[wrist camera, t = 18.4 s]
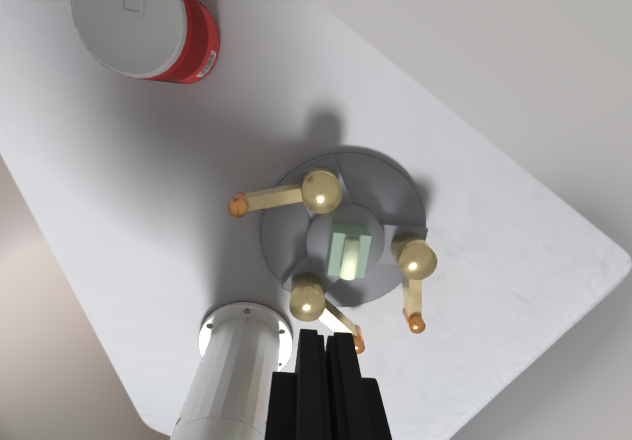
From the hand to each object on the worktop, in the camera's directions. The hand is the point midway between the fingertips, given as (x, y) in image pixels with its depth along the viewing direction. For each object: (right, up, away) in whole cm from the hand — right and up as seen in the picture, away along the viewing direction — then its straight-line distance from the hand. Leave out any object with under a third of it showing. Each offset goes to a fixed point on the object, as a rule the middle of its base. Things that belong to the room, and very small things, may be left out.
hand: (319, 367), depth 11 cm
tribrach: (+3, +3, +30) cm, 30 cm away
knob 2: (+1, -6, +31) cm, 31 cm away
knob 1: (-3, +8, +26) cm, 27 cm away
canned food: (-13, +23, +22) cm, 35 cm away
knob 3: (+11, -2, +30) cm, 32 cm away
